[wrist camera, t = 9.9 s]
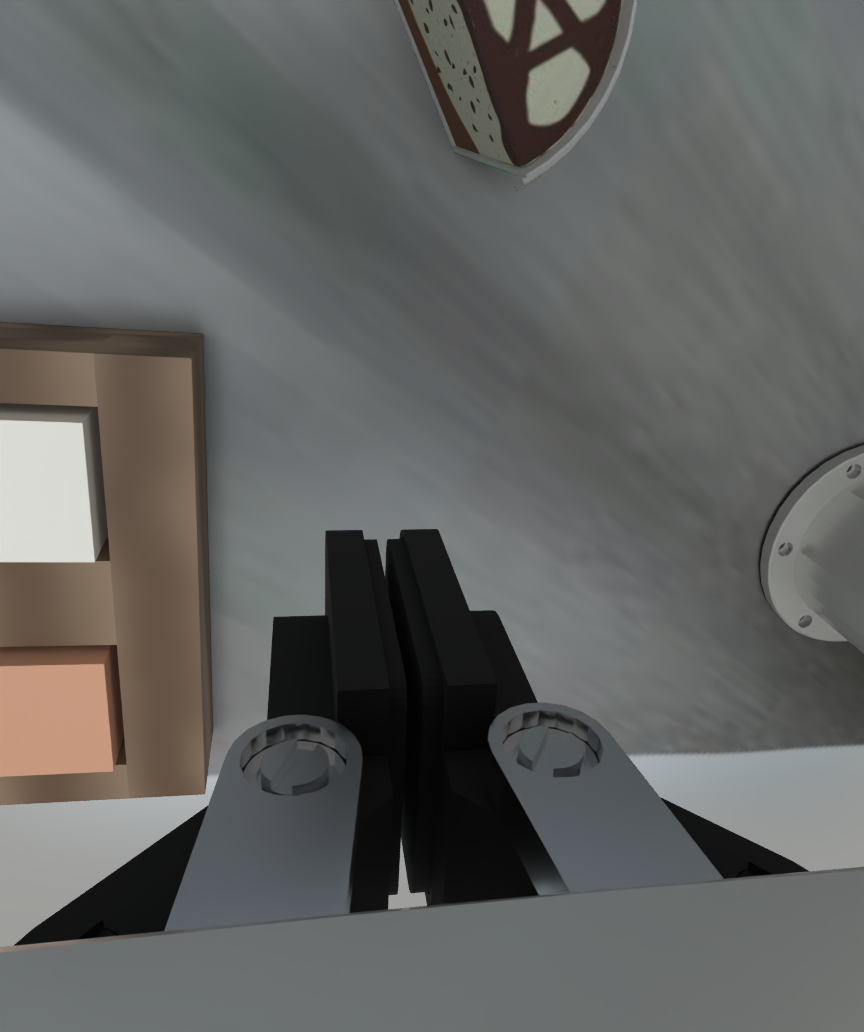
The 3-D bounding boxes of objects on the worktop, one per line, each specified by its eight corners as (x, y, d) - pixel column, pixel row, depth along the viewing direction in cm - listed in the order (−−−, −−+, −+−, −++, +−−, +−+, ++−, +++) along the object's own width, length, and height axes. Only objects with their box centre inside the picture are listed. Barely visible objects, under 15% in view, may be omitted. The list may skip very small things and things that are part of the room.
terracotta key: (119, 621, 37) (103, 663, 34) (127, 722, 40) (113, 771, 37) (-18, 622, 36) (-47, 667, 33) (-1, 726, 39) (-27, 777, 35)
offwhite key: (101, 397, 33) (82, 422, 30) (111, 526, 35) (94, 562, 32) (-54, 391, 32) (-92, 416, 29) (-33, 524, 34) (-66, 562, 31)
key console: (203, 333, 35) (191, 358, 30) (213, 729, 44) (205, 794, 39) (-148, 313, 32) (-218, 337, 28) (-63, 740, 41) (-106, 810, 36)
